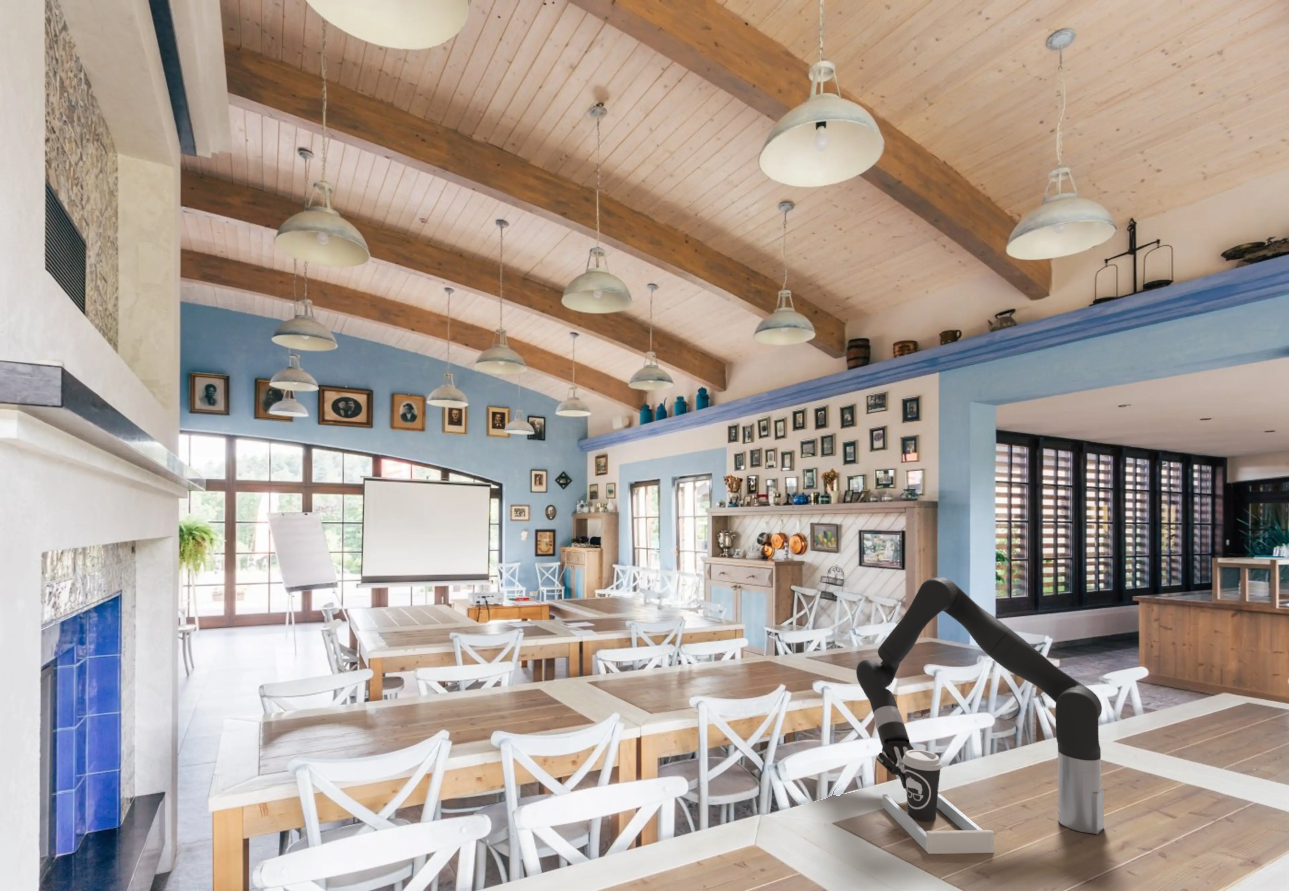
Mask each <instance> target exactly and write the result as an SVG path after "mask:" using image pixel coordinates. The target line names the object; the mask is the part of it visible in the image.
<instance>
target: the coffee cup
mask: <svg viewBox="0 0 1289 891" xmlns="http://www.w3.org/2000/svg"><path fill="white" fill-rule="evenodd" d="M902 762H903V763H904V767H905V779H906V789H905V792H906V801H907V802H906V803H907V814H908V815H909V816H910V817H911V818H912V819H913V820H914V821H919V822H927V823H928V822H929V823H930V822H935V820H936V818H937V810H938V808H937V799H938V794H939V786H940V778H941V777H940V775H941V770H942V768H943V763H942V761H941V759H940V757H939V755H938V754H936V753H934V752H931V751H927V750H922V749H914V750H909V751H907V752H906V753H905V755H904V757H903V759H902Z"/></svg>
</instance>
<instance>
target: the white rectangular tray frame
mask: <svg viewBox="0 0 1289 891" xmlns="http://www.w3.org/2000/svg"><path fill="white" fill-rule="evenodd" d="M881 802H882V804H881V806H882V807H883V808H884V809H885V811H886V812H888V814H889V815H890V816H891V817H892V818H893V819H894V820H895V821H896V822H897V823H898V824H899V825H900V827H901V828H903V829H904V830H905V831H906V832H907V833H908V834H909V835H910V836H911V837H912V838H913V840H915V841H916V843H917V844H918V845H919V846H921V848H922V849H923V850H925V852H926V853H928V855H938V854H939V855H941V854H942V855H945V854H947V855H948V854H955V855H956V854H994V853H995V832H994V831H993V830H991V829H983V828H981V827H980V826H979V825H978V824H977V823H975V822H974V821H972V820H971V819H970V818H969V817H968V816H967V815H965V813H963V812H962V811H960V809H958V808H957V807H956V806H955V805H953V804H952V802H950V801H949V800H948V799H946V798H945V797H944V796H943V795H942V794H941V793H938V799H937V810H939V811H941V813H943V814H944V816H946V817H947V818H948V819H950V821H952V822H953V823H954V824H955V825H956V826H958V827H959V828H960V829H961V830H960V829H959V830H956V829H955V830H953V829H952V830H924V828H922V827H921V826H920V825H919V824H918V823H917V822H916V820H915V819H913V818H911V817H910V816H909V815H908V812H906V811H905V810H904V809H903V808H902V807H901V806H900V805H898V804H897V803H896V802H895V800H894V799H893V798H891V796H890V795H889V794H887V793H886V794H882V801H881Z"/></svg>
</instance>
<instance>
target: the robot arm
mask: <svg viewBox="0 0 1289 891" xmlns="http://www.w3.org/2000/svg"><path fill="white" fill-rule="evenodd" d="M912 600H913V601H912V603H911V604H910V606H909V608H908V609H907V611H906V613H905V614H904V615H903V616H902V618H901V619H900V620H899V622H898V623H897V625H896V626H895V627H894V628H893V630H892V631H891V632H890V633H889V634H888V636H887V637H886V638H885V640H884V641H883V642H882V643H881V644H880V646H879V647H878V650H877V653H878V656H879V658H880V660H881V662H880V663H879V662H877V661H876V662H875V661H873V660H869V659H864V660H861V661H860V662H859V663H858V664H857V667H856V672H855V674H856V678H857V681H858V683H859V685H860V687H861V689H862V691H863V694H864V695H865V696H866V698H867V699H868V701H869V704H870V706H871V707H870V708H871V711H872V714H873V718H874V719H873V720H874V724H875V729H877V730H876V731H877V734H878V737H879V740H880V743H881V746H882V748H881V752H879V754H877V757H876V760H877V762H878V763H879V764H880V765H882V767H884V768H885V769H886V770H887V771H888V772H889V773H890V774H891V775H893V776H895V775H896V776H898V777H899V778H900V783H901V785H902V788H903V789H904V790H906V779H905V767H904V763H903V762H902V759H903V757H904V755H905V753H906V752H907V751H909V750H915V749H914V746H912V744H911V742H910V738H909V735H908V732H907V729H906V726H905V723H904V720H903V717H902V714H901V712H900V710H899V709H898V705H897V704H898V703H897V701H896V698H895V695H894V693H893V692H892V691H891V690H889V689H887V688H888V687H890V685H892V683H893V682H894V680H895V678H896V675H897V672H898V669H899V667H900V665H901V662H902V661H903V660H904V659H905V658H906V657H907V655H908V654H909V653H910V651H911V650H912V649H913V647H914V646H915V644H916V643H917V640H918V639H919V636H920V635H921V633H922V631H923V630H924V629H925V627H926V626H927V625H928V624H929V623H930V622H931V621H932V620H933V619H934V618H935V617H936V616H937V615H939V614H940V613H941V612H944V613H946V614H947V615H949V616H950V617H951V618H953V619H954V620H956V622H957V623H959V624H961V626H962V627H963V628H965V630H966V631H967V632H968V633H969V635H970V636H971V637H972V639H973V640H974V642H976V644H977V645H978V646H979V648H981V650H982V651H983V652H984V653H985V654H986V655H988V656H989V657H990V658H991V659H992V660H993V661H995V662H996V663H997V664H998V665H999V666H1001V667H1003V668H1004V669H1005V670H1007V671H1008V672H1010V673H1012V674H1014V675H1016V676H1017V677H1019V678H1021V679H1022V680H1025V681H1027V682H1029V683H1031V684H1032V685H1034V686H1036V687H1037V688H1038V689H1040V690H1041V691H1042V692H1043V693H1044V694H1046V695H1047V696H1048V697H1049V698H1050V699H1052V701H1054V702H1055V710H1054V712H1055V715H1054V716H1055V738H1056V742H1057V803H1058V804H1057V805H1058V810H1057V814H1058V815H1057V816H1058V822H1059V823H1060V825H1062V826H1064V827H1065V828H1067V829H1070V830H1073V831H1076V832H1082V833H1085V834H1086V833H1088V834H1095V835H1099V834H1100V833H1101V831H1102V830H1103V829H1104V828H1105V808H1104V805H1105V804H1104V802H1105V801H1104V800H1105V799H1104V798H1105V797H1104V796H1105V795H1104V793H1105V792H1104V790H1105V789H1104V788H1103V787H1102V776H1101V775H1102V774H1101V773H1102V772H1101V771H1102V770H1101V768H1102V767H1101V766H1102V764H1101V763H1102V762H1101V750H1102V749H1101V746H1100V741H1099V739H1100V738H1099V718H1100V717H1101V714H1102V711H1103V709H1102V708H1103V707H1102V703H1101V700H1100V699H1099V697H1098V695H1097V694H1096V693H1095V692H1094V691H1092V690H1091V689H1090V688H1088V687H1087V686H1085V685H1084V684H1083V683H1081V682H1079V681H1077V680H1076V679H1075V678H1073V677H1071V675H1069V674H1067V673H1066V672H1064V671H1063V670H1062V669H1060V668H1058V667H1057V666H1056V665H1055V664H1054V663H1052V662H1051V661H1049V659H1048V658H1046V656H1044V655H1043V654H1042V653H1040V651H1038V649H1036V648H1034V646H1032V645H1031V644H1030V643H1029V642H1027V641H1026V640H1025V639H1024V638H1023V637H1021V636H1020V635H1019V634H1018V633H1016V632H1015V631H1014V630H1012V629H1011V628H1010V627H1008V626H1007V625H1006V624H1005V623H1003V622H1002V621H1000V620H999V619H998V618H997V617H995V616H994V615H993V614H992V613H991V614H990V613H989V612H988V611H987V610H985V609H983V607H981V606H980V605H979V604H978V603H976V602H975V601H974V600H973V599H972V598H971V597H970V596H969V595H968V594H966V593H965V592H964V591H963V589H961V588H960V587H959V586H958V585H957V584H956V583H955V582H954V581H952V580H951V579H949V578H947V577H943V576H937V577H933V578H930V579H927V580H925V581H924V582H922V584H921V585H920V587H919V589H918V591H917V593H916V594H915V596H914V598H913V599H912Z"/></svg>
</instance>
